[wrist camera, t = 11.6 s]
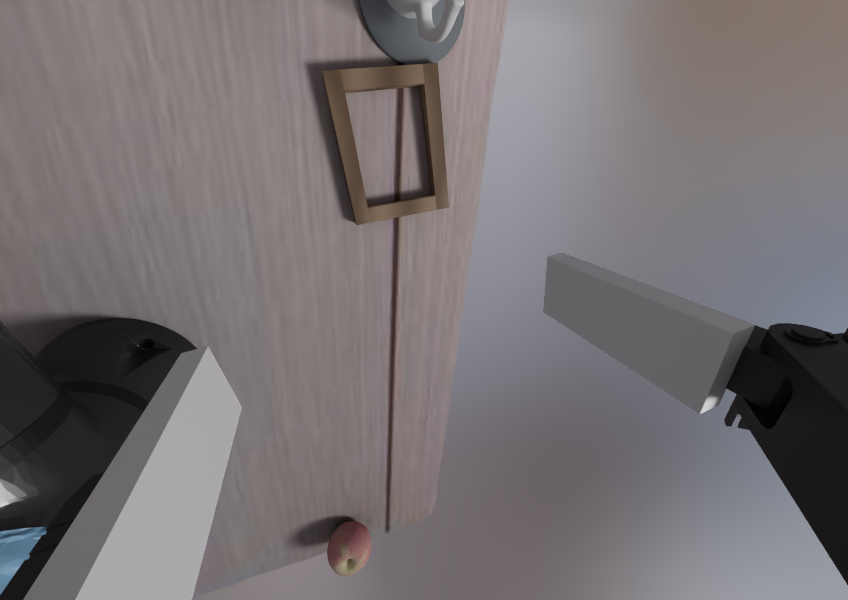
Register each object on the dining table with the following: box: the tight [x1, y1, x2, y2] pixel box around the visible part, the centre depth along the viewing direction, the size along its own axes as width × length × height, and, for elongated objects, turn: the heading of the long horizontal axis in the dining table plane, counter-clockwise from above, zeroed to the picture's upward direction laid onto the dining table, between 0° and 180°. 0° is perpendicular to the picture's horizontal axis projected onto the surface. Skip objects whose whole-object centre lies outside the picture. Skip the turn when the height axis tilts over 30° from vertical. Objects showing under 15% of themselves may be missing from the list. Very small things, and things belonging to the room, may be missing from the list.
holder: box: [322, 63, 449, 225], centre depth 35 cm, size 12×15×2 cm
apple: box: [327, 521, 371, 576], centre depth 57 cm, size 8×8×8 cm
